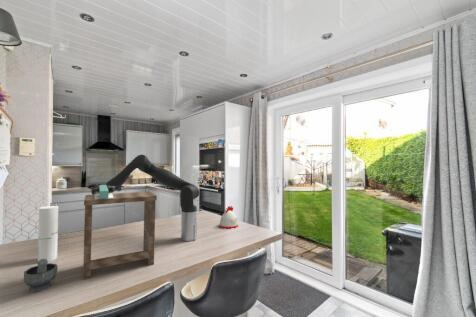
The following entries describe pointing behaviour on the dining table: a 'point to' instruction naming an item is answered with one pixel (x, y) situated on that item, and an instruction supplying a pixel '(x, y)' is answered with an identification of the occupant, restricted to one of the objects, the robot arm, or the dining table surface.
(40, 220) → the cylindrical container
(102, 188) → the teal square bar
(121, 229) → the dining table surface
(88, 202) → the stand
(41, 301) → the dining table surface
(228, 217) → the kitchen timer
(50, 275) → the mortar and pestle
